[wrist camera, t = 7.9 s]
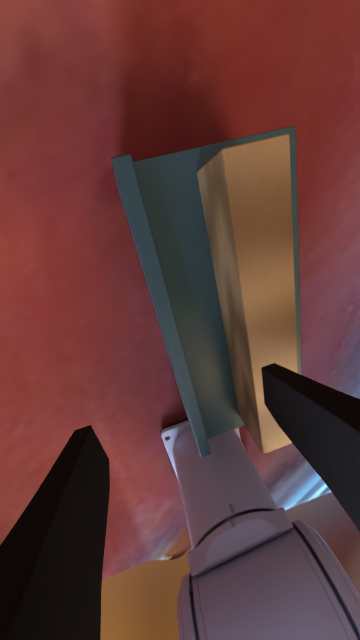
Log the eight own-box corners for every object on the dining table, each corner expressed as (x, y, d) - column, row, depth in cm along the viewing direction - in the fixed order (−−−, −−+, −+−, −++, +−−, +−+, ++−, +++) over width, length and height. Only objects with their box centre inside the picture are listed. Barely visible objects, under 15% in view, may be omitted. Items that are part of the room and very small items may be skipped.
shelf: (264, 366, 23) (314, 414, 17) (180, 396, 22) (201, 458, 16) (242, 159, 16) (314, 112, 10) (117, 189, 15) (110, 157, 9)
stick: (271, 405, 17) (300, 440, 14) (239, 416, 17) (263, 455, 14) (246, 160, 11) (290, 132, 8) (195, 171, 11) (222, 147, 8)
